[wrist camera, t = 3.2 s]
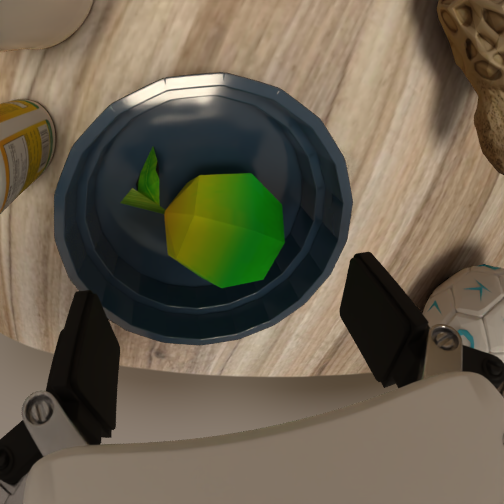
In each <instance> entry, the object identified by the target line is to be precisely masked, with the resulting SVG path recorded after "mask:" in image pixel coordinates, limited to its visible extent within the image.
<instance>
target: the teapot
mask: <svg viewBox="0 0 504 504" xmlns="http://www.w3.org/2000/svg"><path fill="white" fill-rule="evenodd" d="M437 13H438V19H439V21H440V23H441V25H442V27H443V29H444V32H445V34H446V36H447V38H448V41H449V43H450V46H451V49H452V53H453V56H454V60H455V63H456V65H458V66H459V67H460V68H461V70H462V71H463V73H464V74H465V76H466V77H467V79H468V80H469V82H470V83H471V85H472V86H473V88H474V90H475V91H476V93H477V94H478V104H477V109H476V112H475V115H474V125H475V127H476V130H477V134H478V138H479V142H480V146H481V149H482V152H483V154H484V155H485V156H486V158H487V159H488V161H489V162H490V163H491V164H492V165H493V167H494V168H495V169H496V170H497V171H498V172H499V173H501V174H503V175H504V0H439V1H438V6H437Z"/></svg>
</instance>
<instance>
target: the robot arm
mask: <svg viewBox="0 0 504 504" xmlns="http://www.w3.org/2000/svg"><path fill="white" fill-rule="evenodd" d="M340 316H341V319H342V320H343V322H344V324H345V326H346V327H347V329H348V331H349V332H350V334H351V336H352V338H353V339H354V341H355V343H356V345H357V346H358V348H359V350H360V352H361V354H362V355H363V357H364V359H365V361H366V362H367V364H368V366H369V368H370V370H371V371H372V373H373V375H374V377H375V379H376V380H377V381H378V382H381V383H382V385H383V387H384V388H385V387H388V386H391V385H393V384H397V386H398V389H395V390H393V391H390V392H387V393H384V394H382V395H379V396H376V397H373V398H370V399H367V400H365V401H362V402H359V403H356V404H352V405H349V406H346V407H343V408H340V409H337V410H333V411H330V412H327V413H323V414H319V415H316V416H312V417H308V418H304V419H301V420H296V421H292V422H288V423H283V424H279V425H274V426H270V427H266V428H260V429H255V430H249V431H244V432H238V433H233V434H226V435H219V436H212V437H204V438H196V439H187V440H178V441H164V442H150V443H131V444H104V445H100V443H101V437H105V438H109V437H111V430H114V429H115V427H116V402H117V400H116V399H117V384H118V370H119V359H120V346H119V343H118V341H117V338H116V336H115V334H114V332H113V330H112V327H111V325H110V323H109V321H108V318H107V316H106V314H105V311H104V309H103V307H102V304H101V302H100V299H99V297H98V295H97V294H96V293H95V294H93V292H92V291H91V290H85V291H77V292H76V293H75V295H74V298H73V301H72V304H71V307H70V310H69V314H68V317H67V320H66V324H65V327H64V329H63V330H62V331H61V332H60V335H59V338H58V342H57V346H56V349H55V353H54V357H53V361H52V365H51V370H50V374H49V378H48V383H47V388H46V391H37V392H35V393H32V394H31V395H30V396H28V397H27V399H26V400H25V402H24V403H23V407H22V417H23V420H22V421H21V422H20V423H19V424H18V425H17V426H15V427H14V428H13V429H12V430H11V431H10V432H8V433H7V434H6V435H5V436H4V437H3V438H2V439H0V504H504V363H503V362H502V360H501V359H499V358H498V357H497V356H495V355H492V354H489V353H486V352H483V351H480V350H477V349H474V348H471V347H468V346H465V345H463V342H462V338H461V336H460V334H459V333H458V332H457V331H456V330H455V329H454V328H452V327H451V326H448V325H446V324H436V325H434V326H432V327H431V328H430V327H429V325H428V323H429V322H428V321H427V319H426V318H425V317H424V315H423V314H422V313H421V312H420V310H419V309H418V308H417V307H416V305H415V304H414V303H413V302H412V300H411V299H410V298H409V297H408V296H407V294H406V293H405V292H404V291H403V289H402V288H401V287H400V286H399V285H398V283H397V282H396V281H395V280H394V279H393V278H392V276H391V275H390V274H389V273H388V272H387V270H386V269H385V268H384V267H383V266H382V265H381V264H380V262H379V261H378V260H377V259H376V258H375V257H374V256H373V254H372V253H370V252H364V253H358V254H355V255H354V258H352V259H351V260H350V264H349V269H348V274H347V279H346V283H345V288H344V293H343V297H342V302H341V306H340Z"/></svg>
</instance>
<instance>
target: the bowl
mask: <svg viewBox="0 0 504 504" xmlns="http://www.w3.org/2000/svg"><path fill="white" fill-rule="evenodd" d="M152 147H154V151H155V154H156V158H157V162H158V165H159V203H160V206H161V207H162V208H164V209H165V210H166V209H167V208H168V206H169V205H170V204H171V202H172V201H173V200H174V199H175V197H176V196H177V195H178V194H179V192H180V191H181V190H182V189H183V187H184V186H185V185H186V184H187V183H188V182H189V181H191V180H192V179H194V178H196V177H198V176H199V175H216V174H243V173H252V174H253V175H254V176H255V177H256V178H257V179H258V180H259V181H260V182H261V183H262V185H263V186H264V187H265V188H266V189H267V190H268V191H269V192H270V193H271V194H272V195H273V196H274V197H275V198H276V199H277V200H278V201H279V202H280V203H281V204H282V210H283V224H284V239H285V243H284V245H283V247H282V248H281V250H280V252H279V254H278V255H277V257H276V259H275V260H274V262H273V264H272V266H271V267H270V269H269V271H268V273H267V274H266V276H265V278H264V279H263V280H259V281H254V282H250V283H245V284H240V285H235V286H230V287H225V288H220V287H218V286H216V285H214V284H212V283H210V282H209V281H207V280H205V279H203V278H201V277H200V276H198V275H197V274H195V273H194V272H192V271H191V270H189V269H188V268H186V267H185V266H183V265H182V264H181V263H179V262H178V261H176V260H175V259H173V258H172V257H170V256H169V255H168V251H167V241H166V230H165V217H164V214H161V213H157V212H154V211H150V210H146V209H142V208H138V207H134V206H130V205H126V204H122V203H120V202H121V201H122V200H123V199H124V197H125V196H126V195H127V194H128V193H129V191H130V190H131V189H132V188H133V189H135V190H136V191H137V187H136V182H137V180H138V178H139V175H140V173H141V171H142V169H143V166H144V164H145V162H146V160H147V158H148V156H149V153H150V151H151V149H152ZM352 205H353V199H352V193H351V187H350V182H349V177H348V172H347V166H346V162H345V158H344V156H343V155H342V153H341V151H340V150H339V148H338V146H337V145H336V143H335V141H334V140H333V138H332V136H331V135H330V133H329V131H328V130H327V128H326V127H325V125H324V124H323V122H322V121H321V119H320V118H319V117H317V116H316V115H315V114H314V113H312V112H311V111H310V110H308V109H307V108H306V107H305V106H303V105H302V104H301V103H299V102H298V101H297V100H295V99H294V98H293V97H291V96H290V95H289V94H287V93H286V92H285V91H283V90H282V89H280V88H278V87H275V86H272V85H269V84H265V83H262V82H259V81H255V80H252V79H248V78H245V77H241V76H237V75H234V74H230V73H223V72H219V73H204V74H193V75H182V76H174V77H166V78H162V79H160V80H158V81H156V82H153V83H151V84H149V85H147V86H145V87H143V88H141V89H139V90H137V91H135V92H133V93H131V94H129V95H127V96H125V97H123V98H121V99H119V100H117V101H115V102H114V103H112V104H111V105H109V106H108V107H107V108H106V109H105V110H104V111H103V112H102V113H101V114H100V115H99V116H98V118H97V119H96V120H95V121H94V122H93V123H92V124H91V125H90V126H89V127H88V128H87V130H86V131H85V132H84V133H83V134H82V135H81V136H80V137H79V139H78V140H77V141H76V142H75V143H74V145H73V147H72V148H71V150H70V153H69V155H68V158H67V160H66V163H65V165H64V168H63V170H62V173H61V176H60V178H59V181H58V184H57V187H56V190H55V194H54V238H55V242H56V245H57V248H58V251H59V254H60V256H61V259H62V262H63V264H64V267H65V269H66V272H67V274H68V277H69V278H70V280H71V281H72V283H73V284H74V285H75V286H76V288H77V289H78V290H79V291H85V290H91V291H92V292H93V294H95V293H96V294H97V295H98V297H99V299H100V302H101V304H102V307H103V309H104V311H105V314H106V316H107V318H108V319H109V320H111V321H112V322H114V323H115V324H117V325H118V326H120V327H122V328H123V329H125V330H126V331H129V332H132V333H135V334H138V335H141V336H144V337H147V338H150V339H153V340H156V341H160V342H164V343H173V344H187V345H207V344H214V343H220V342H226V341H233V340H238V339H241V338H244V337H246V336H249V335H251V334H254V333H256V332H259V331H261V330H264V329H266V328H269V327H271V326H273V325H275V324H277V323H278V322H280V321H281V320H283V319H284V318H286V317H287V316H288V315H290V314H291V313H293V312H294V311H296V310H297V309H298V308H300V307H301V306H303V305H304V304H305V303H306V302H307V301H308V300H309V299H310V298H311V296H312V295H313V294H314V293H315V292H316V291H317V290H318V288H319V287H320V286H321V285H322V284H323V283H324V282H325V280H326V279H327V278H328V277H329V276H330V274H331V273H332V271H333V268H334V266H335V264H336V262H337V260H338V258H339V256H340V254H341V252H342V250H343V248H344V246H345V244H346V242H347V238H348V231H349V225H350V219H351V212H352Z"/></svg>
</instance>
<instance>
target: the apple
mask: <svg viewBox="0 0 504 504" xmlns="http://www.w3.org/2000/svg"><path fill="white" fill-rule="evenodd" d="M136 187H137V191H136V190H135V189H133V188H132V189H131V190H130V191H129V193H128V194H127V195H126V196H125V197H124V199H123V200H122V201H121V202H120V203H122V204H126V205H130V206H134V207H138V208H142V209H146V210H150V211H154V212H157V213H161V214H164V217H165V230H166V241H167V251H168V255H169V256H170V257H172V258H173V259H175V260H176V261H178V262H179V263H181V264H182V265H183V266H185V267H186V268H188V269H189V270H191V271H192V272H194V273H195V274H197V275H198V276H200V277H201V278H203V279H205V280H207V281H209V282H210V283H212V284H214V285H216V286H218V287H220V288H225V287H230V286H235V285H240V284H245V283H250V282H254V281H259V280H263V279H264V278H265V276H266V274H267V273H268V271H269V269H270V267H271V266H272V264H273V262H274V260H275V259H276V257H277V255H278V254H279V252H280V250H281V248H282V247H283V245H284V243H285V239H284V224H283V210H282V204H281V203H280V202H279V201H278V200H277V199H276V198H275V197H274V196H273V195H272V194H271V193H270V192H269V191H268V190H267V189H266V188H265V187H264V186H263V185H262V183H261V182H260V181H259V180H258V179H257V178H256V177H255V176H254V175H253V174H252V173H243V174H216V175H199V176H198V177H196V178H194V179H192V180H191V181H189V182H188V183H187V184H186V185H185V186H184V187H183V189H182V190H181V191H180V192H179V194H178V195H177V196H176V197H175V199H174V200H173V201H172V202H171V204H170V205H169V206H168V208H167V209H166V210H165V209H164V208H162V207H161V206H160V203H159V165H158V162H157V158H156V154H155V151H154V147H152V149H151V151H150V153H149V156H148V158H147V160H146V162H145V164H144V166H143V169H142V171H141V173H140V175H139V178H138V180H137V182H136Z"/></svg>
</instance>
